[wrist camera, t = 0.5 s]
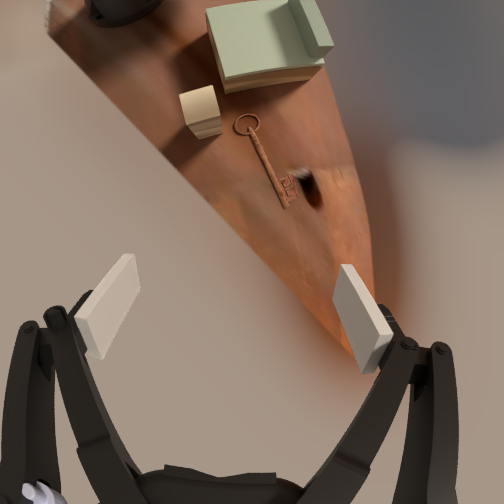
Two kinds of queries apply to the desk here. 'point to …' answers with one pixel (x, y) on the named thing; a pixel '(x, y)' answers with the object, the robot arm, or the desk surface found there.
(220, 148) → the desk surface
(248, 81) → the light wooden box
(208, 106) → the block
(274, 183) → the key
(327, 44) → the lid
